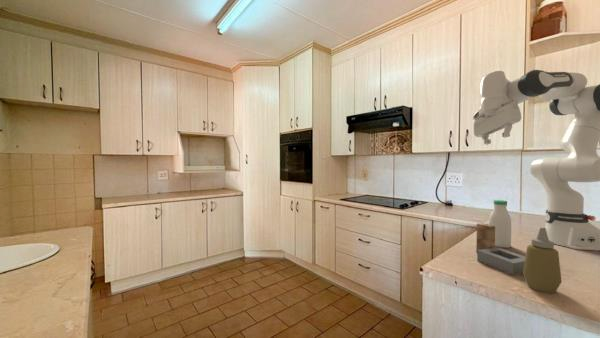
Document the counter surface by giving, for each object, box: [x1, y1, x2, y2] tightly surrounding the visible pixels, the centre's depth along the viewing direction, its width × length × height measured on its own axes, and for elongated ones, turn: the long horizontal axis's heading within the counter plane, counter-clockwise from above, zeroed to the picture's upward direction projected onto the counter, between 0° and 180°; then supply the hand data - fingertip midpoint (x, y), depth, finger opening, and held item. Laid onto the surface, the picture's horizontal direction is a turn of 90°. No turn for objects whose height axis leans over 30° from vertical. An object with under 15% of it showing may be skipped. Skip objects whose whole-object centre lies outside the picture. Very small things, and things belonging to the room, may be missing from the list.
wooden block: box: [476, 222, 496, 254], centre depth 96 cm, size 5×3×12 cm, turn 16°
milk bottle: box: [488, 199, 512, 249], centre depth 106 cm, size 8×8×20 cm
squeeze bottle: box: [522, 227, 562, 294], centre depth 70 cm, size 8×8×18 cm
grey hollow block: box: [476, 246, 526, 276], centre depth 86 cm, size 12×10×4 cm
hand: (496, 140), depth 97 cm, fingers open, 8 cm apart
